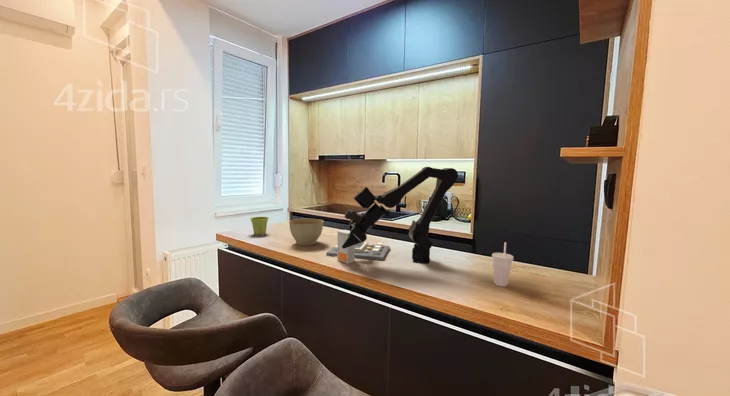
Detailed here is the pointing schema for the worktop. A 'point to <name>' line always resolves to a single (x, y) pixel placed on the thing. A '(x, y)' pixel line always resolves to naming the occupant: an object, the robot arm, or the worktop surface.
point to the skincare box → (347, 253)
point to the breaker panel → (365, 251)
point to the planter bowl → (306, 230)
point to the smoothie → (502, 267)
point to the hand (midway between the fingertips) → (342, 244)
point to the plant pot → (259, 225)
